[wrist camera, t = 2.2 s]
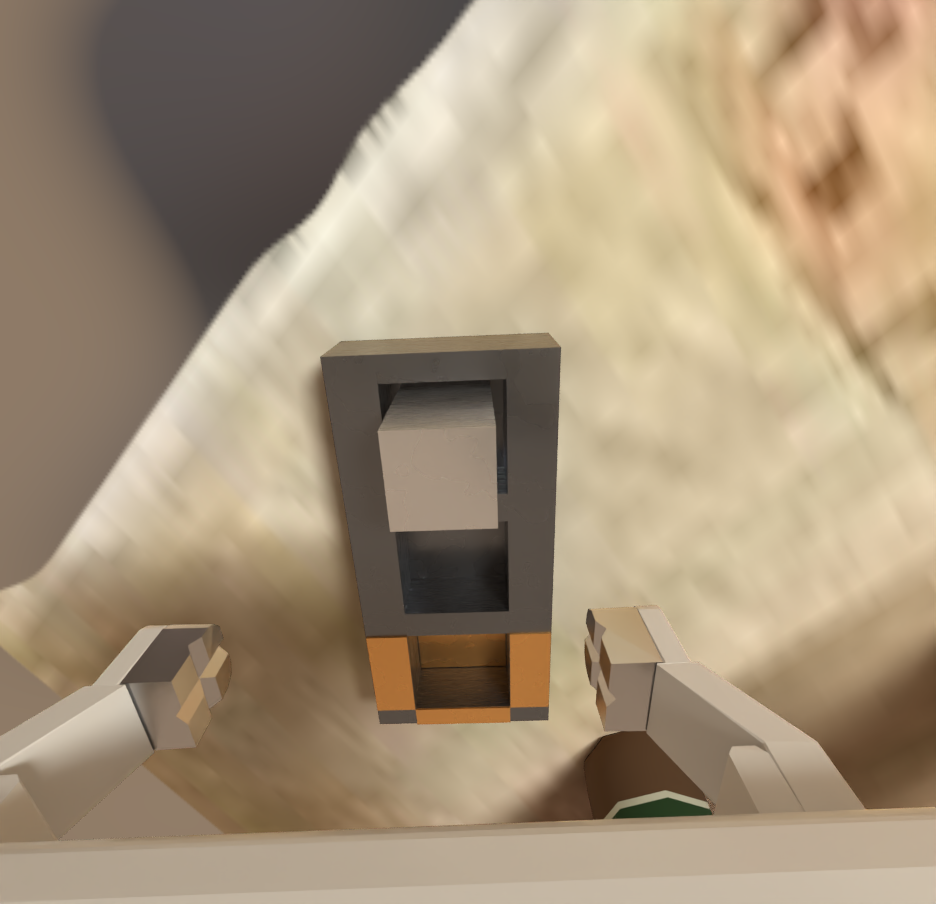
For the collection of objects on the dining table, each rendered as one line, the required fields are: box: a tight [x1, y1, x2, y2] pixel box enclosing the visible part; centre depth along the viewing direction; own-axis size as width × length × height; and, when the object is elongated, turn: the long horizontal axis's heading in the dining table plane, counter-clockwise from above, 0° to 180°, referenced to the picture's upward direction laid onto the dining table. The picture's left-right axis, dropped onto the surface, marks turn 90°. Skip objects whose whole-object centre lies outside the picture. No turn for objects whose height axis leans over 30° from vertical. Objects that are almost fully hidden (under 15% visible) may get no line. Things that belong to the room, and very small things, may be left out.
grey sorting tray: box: [320, 333, 561, 724], centre depth 26 cm, size 10×22×4 cm, turn 2°
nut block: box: [378, 380, 498, 532], centre depth 21 cm, size 4×4×7 cm
